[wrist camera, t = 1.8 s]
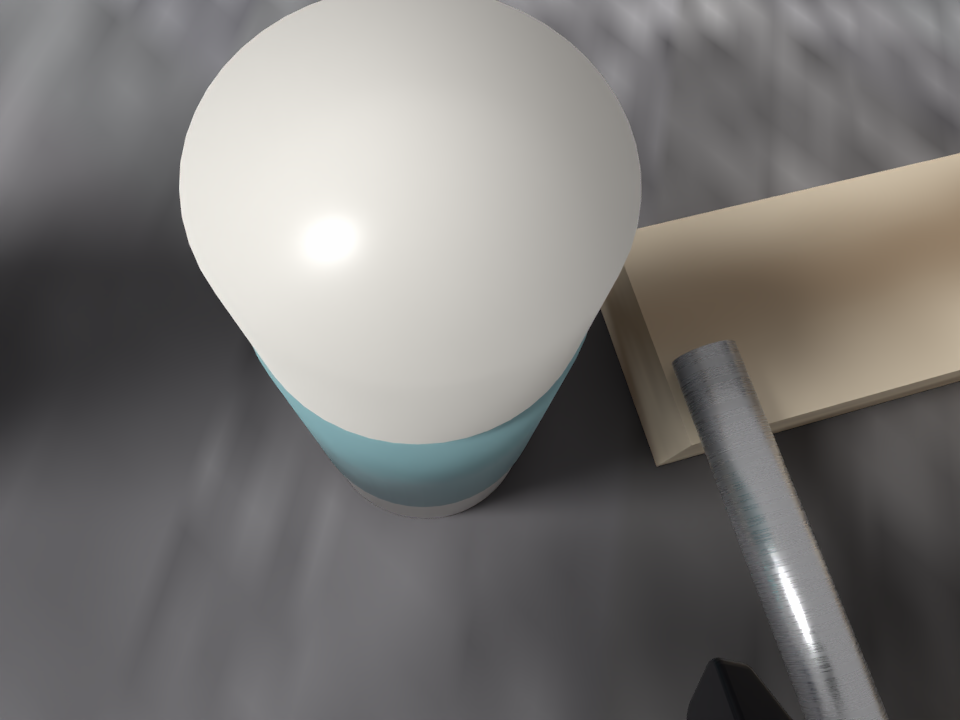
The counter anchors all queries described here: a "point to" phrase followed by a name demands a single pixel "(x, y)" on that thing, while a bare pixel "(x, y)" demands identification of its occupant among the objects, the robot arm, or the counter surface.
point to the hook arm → (776, 538)
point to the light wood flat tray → (797, 299)
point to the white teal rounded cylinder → (412, 230)
